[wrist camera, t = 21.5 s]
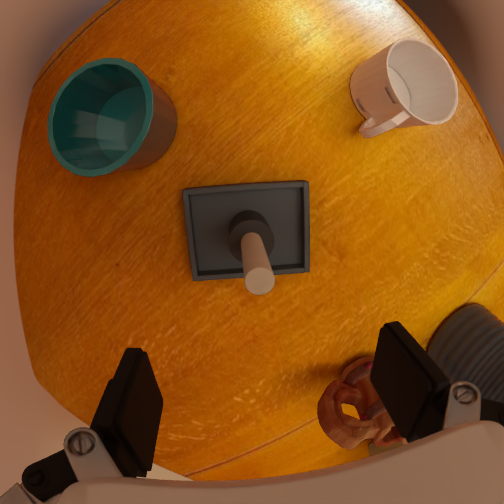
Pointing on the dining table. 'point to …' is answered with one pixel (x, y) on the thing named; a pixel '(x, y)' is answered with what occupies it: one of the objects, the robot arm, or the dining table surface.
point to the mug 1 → (404, 87)
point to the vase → (472, 350)
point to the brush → (253, 249)
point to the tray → (233, 202)
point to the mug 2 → (367, 404)
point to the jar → (110, 119)
